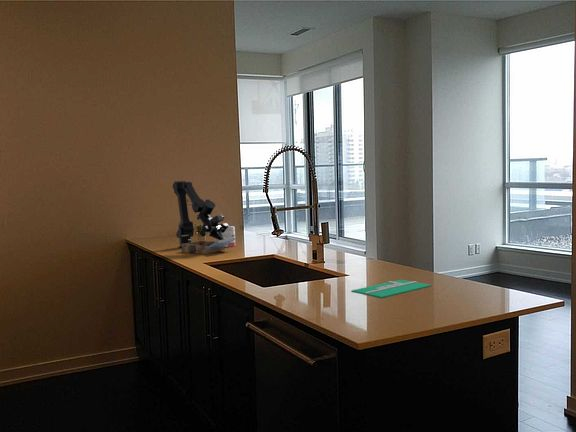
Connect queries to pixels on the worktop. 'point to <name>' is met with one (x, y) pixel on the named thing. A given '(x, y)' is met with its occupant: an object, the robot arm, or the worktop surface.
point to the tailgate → (220, 243)
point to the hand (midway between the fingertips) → (222, 240)
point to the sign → (391, 288)
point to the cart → (199, 247)
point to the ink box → (229, 235)
